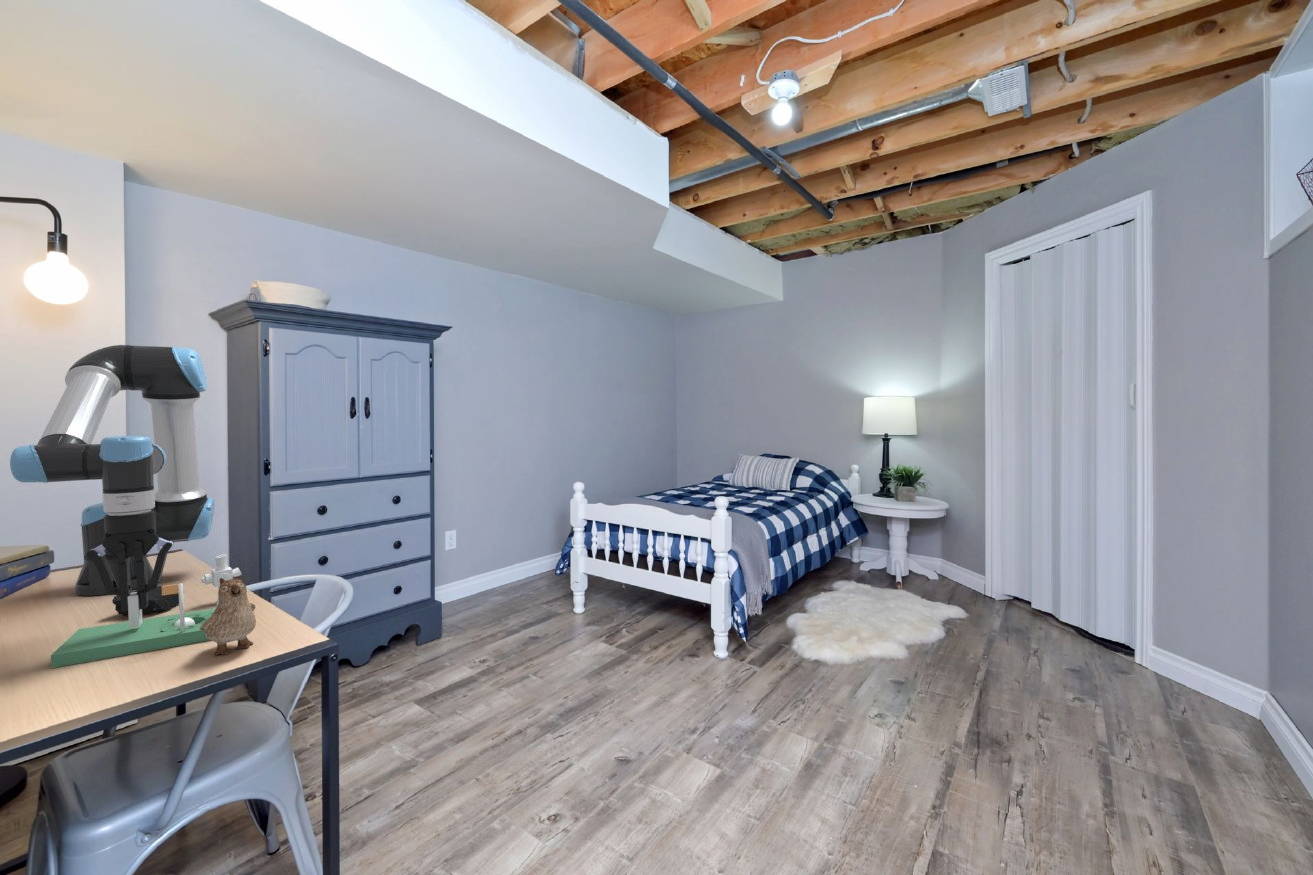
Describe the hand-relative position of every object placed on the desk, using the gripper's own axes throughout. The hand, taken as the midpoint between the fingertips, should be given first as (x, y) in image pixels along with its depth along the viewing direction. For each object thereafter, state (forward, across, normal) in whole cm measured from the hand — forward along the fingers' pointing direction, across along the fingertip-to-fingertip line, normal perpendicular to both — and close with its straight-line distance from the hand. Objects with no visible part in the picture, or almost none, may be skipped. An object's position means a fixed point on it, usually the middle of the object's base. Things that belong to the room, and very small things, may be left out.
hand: (135, 624), depth 111 cm
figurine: (+4, +17, -16) cm, 23 cm away
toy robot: (+4, +12, +19) cm, 23 cm away
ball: (+2, +8, 0) cm, 8 cm away
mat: (+3, +2, 0) cm, 4 cm away
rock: (+4, -2, +21) cm, 21 cm away
